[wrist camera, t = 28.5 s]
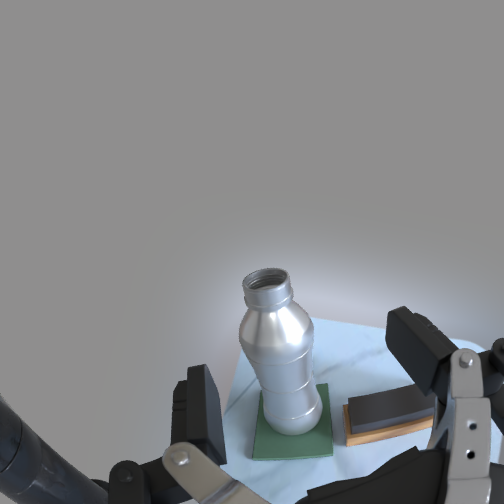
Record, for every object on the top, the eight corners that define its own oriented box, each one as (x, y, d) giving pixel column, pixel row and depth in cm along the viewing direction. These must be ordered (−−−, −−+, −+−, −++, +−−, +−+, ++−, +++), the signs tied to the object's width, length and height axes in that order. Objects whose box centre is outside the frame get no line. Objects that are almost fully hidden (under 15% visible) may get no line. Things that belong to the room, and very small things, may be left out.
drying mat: (253, 460, 26) (252, 458, 26) (261, 391, 36) (260, 389, 36) (333, 455, 24) (333, 453, 24) (327, 385, 34) (327, 383, 34)
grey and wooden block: (346, 446, 25) (347, 431, 23) (342, 413, 29) (343, 395, 28) (456, 418, 22) (466, 399, 21) (444, 389, 27) (452, 369, 25)
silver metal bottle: (322, 441, 26) (308, 298, 18) (263, 441, 28) (212, 305, 20) (323, 398, 32) (309, 256, 24) (271, 400, 33) (234, 264, 26)
